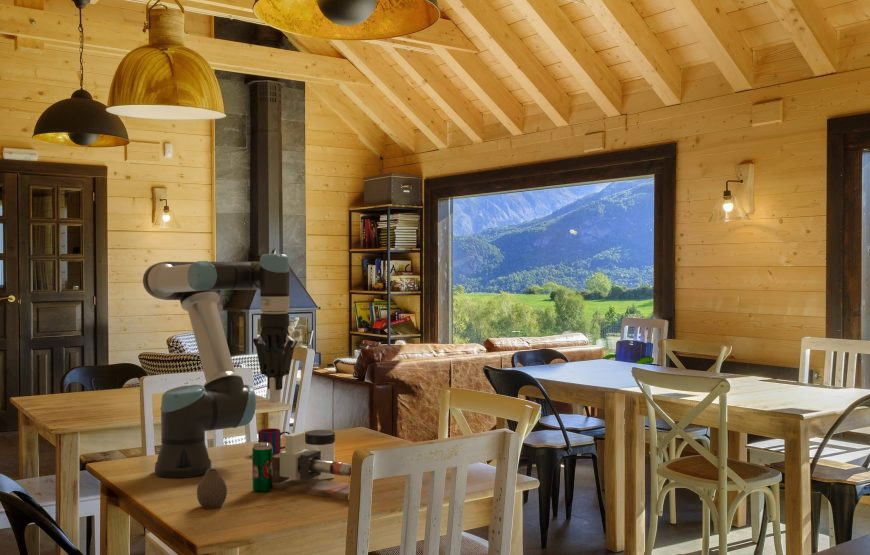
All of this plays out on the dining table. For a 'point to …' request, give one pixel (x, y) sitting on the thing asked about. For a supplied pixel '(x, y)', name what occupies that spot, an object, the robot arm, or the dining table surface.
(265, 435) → the mug
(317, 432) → the jar
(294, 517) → the dining table surface
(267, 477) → the soda can
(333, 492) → the stand
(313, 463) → the pipe
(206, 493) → the vase
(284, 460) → the sleeve
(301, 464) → the dark grey square collar
